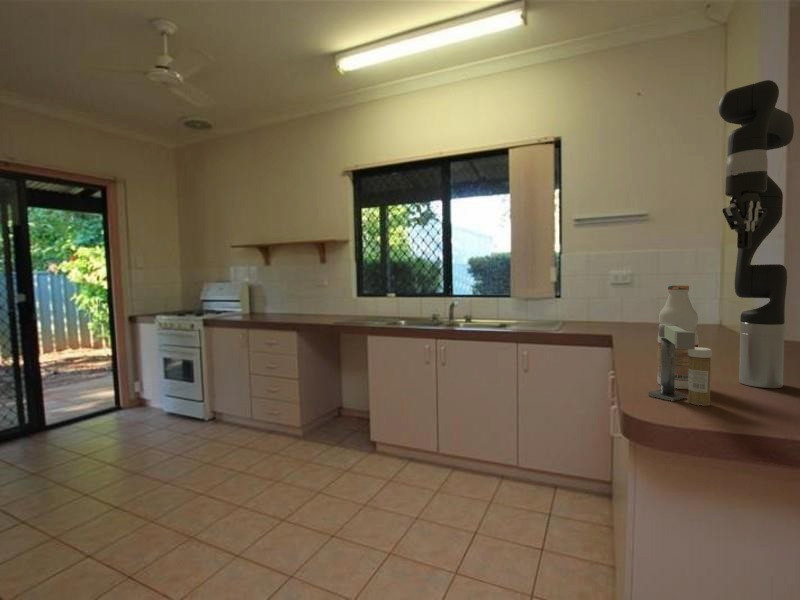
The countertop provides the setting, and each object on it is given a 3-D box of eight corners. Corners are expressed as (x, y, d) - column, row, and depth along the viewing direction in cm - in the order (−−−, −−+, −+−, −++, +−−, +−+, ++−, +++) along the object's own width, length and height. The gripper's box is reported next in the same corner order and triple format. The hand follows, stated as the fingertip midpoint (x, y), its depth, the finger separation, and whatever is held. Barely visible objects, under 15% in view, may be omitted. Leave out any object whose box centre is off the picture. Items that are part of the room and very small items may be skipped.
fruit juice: (649, 383, 120) (650, 285, 119) (673, 379, 123) (674, 284, 122) (680, 391, 111) (682, 286, 110) (705, 387, 115) (707, 285, 113)
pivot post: (661, 392, 111) (662, 336, 110) (686, 397, 105) (687, 338, 105) (648, 395, 108) (649, 338, 107) (673, 401, 103) (674, 341, 102)
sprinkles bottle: (713, 404, 100) (715, 348, 99) (705, 407, 98) (706, 350, 97) (692, 399, 104) (693, 345, 103) (683, 403, 101) (684, 348, 101)
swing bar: (657, 336, 108) (657, 322, 108) (675, 336, 107) (675, 322, 107) (674, 348, 90) (675, 332, 90) (696, 349, 89) (697, 332, 89)
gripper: (745, 179, 103) (744, 249, 104) (710, 175, 99) (708, 249, 100) (782, 171, 96) (780, 247, 97) (746, 167, 92) (744, 246, 93)
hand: (744, 248), depth 99 cm, fingers closed
